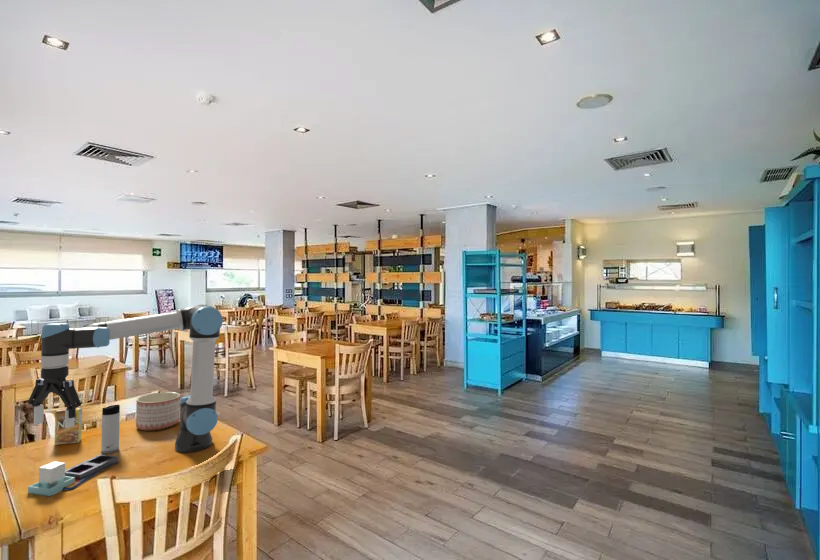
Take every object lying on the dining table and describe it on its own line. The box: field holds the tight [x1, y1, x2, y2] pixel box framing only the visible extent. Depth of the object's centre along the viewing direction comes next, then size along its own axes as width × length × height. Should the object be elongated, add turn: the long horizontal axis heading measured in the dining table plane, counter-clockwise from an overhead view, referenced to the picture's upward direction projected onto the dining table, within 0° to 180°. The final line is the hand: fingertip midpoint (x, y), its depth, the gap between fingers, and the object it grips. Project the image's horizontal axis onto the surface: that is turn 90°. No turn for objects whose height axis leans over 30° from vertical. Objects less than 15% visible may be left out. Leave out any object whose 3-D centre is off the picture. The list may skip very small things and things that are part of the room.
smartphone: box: [62, 470, 99, 491], centre depth 153 cm, size 7×15×1 cm, turn 2°
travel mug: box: [100, 404, 121, 455], centre depth 178 cm, size 6×7×20 cm
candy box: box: [54, 406, 83, 446], centre depth 186 cm, size 9×4×15 cm, turn 113°
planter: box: [135, 391, 181, 432], centre depth 209 cm, size 19×19×15 cm
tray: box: [27, 476, 75, 498], centre depth 146 cm, size 9×9×2 cm
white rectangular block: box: [38, 460, 66, 489], centre depth 146 cm, size 5×5×8 cm
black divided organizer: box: [65, 453, 119, 480], centre depth 160 cm, size 9×16×2 cm, turn 169°
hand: (53, 425), depth 146 cm, fingers open, 13 cm apart
